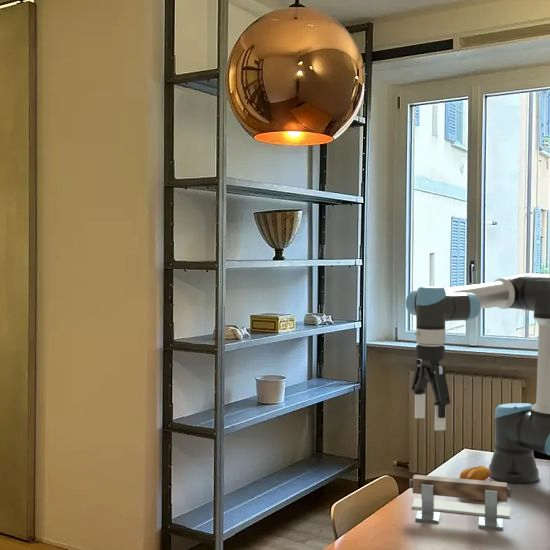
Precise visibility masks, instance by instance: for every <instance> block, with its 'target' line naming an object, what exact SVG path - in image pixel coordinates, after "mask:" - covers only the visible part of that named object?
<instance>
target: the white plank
mask: <svg viewBox="0 0 550 550" xmlns="http://www.w3.org/2000/svg"><path fill="white" fill-rule="evenodd" d="M411 509H415V510H422V499H421V498H419V497H414V498H413V502H412V505H411ZM434 512H446V513H454V514H456V513H457V514H465V515H477V516H482V517H485V504H482V503H481V504H480V503H471V502H459V501H451V500H450V501H449V500H438V499H434ZM497 518H501V519H511V509H510V506H502V505H501V506H500V505H497Z"/></svg>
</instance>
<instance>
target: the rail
mask: <svg viewBox="0 0 550 550" xmlns="http://www.w3.org/2000/svg"><path fill="white" fill-rule="evenodd" d="M493 481H494V480H493ZM493 481H482V480H471V479H460V477H446V476H436V475H435V476H434V475H423V474H413V476H412V478H409V482H408V487H409V489H412V494H418V495H421V485H422V484H432V485H433V495H434V496H439V497H449V498H457V499H458V498H460V499H469V500H470V499H471V500H474V499H478V500H485V489H487V490H497V502H500V503H508V498H512V488H511V487H508V482H504V481H495V482H493ZM478 500H477V501H478Z"/></svg>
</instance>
